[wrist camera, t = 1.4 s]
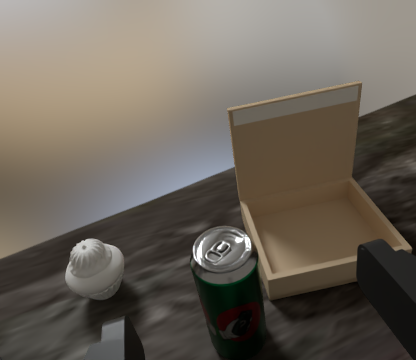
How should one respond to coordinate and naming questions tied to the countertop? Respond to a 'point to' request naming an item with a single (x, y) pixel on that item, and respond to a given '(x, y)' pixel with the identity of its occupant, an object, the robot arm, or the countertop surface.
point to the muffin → (95, 269)
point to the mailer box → (304, 189)
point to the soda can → (230, 291)
